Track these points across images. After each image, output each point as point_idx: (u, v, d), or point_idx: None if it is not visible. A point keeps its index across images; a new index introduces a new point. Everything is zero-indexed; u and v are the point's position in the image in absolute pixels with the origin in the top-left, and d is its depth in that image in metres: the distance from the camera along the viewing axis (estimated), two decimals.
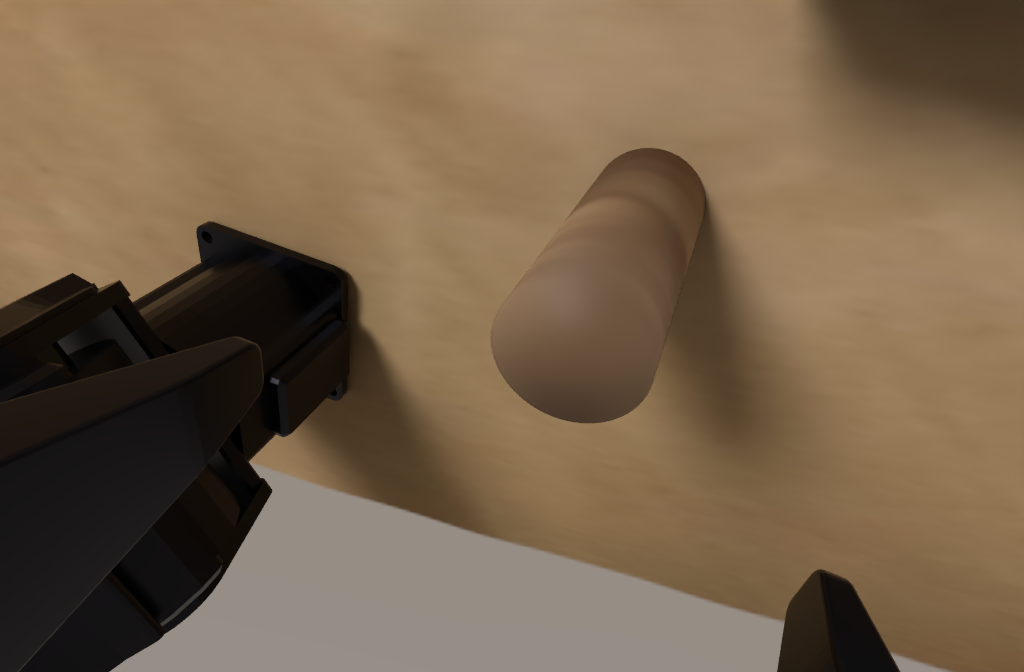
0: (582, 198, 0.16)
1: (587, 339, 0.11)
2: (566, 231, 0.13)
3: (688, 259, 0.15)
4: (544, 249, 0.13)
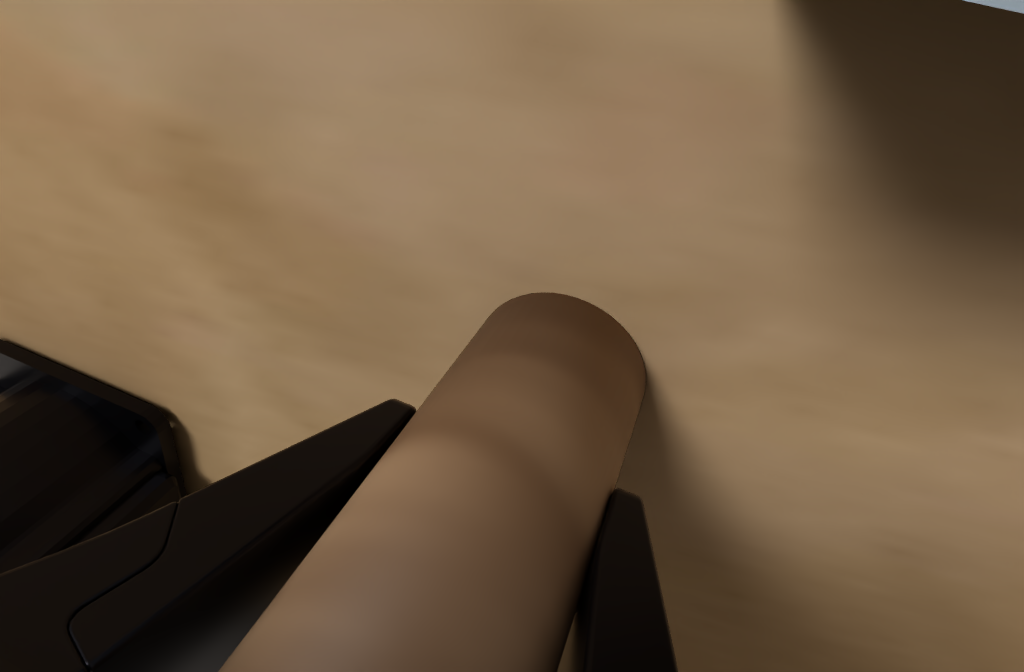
0: (426, 399, 0.09)
1: None
2: (334, 543, 0.07)
3: (595, 536, 0.08)
4: (290, 578, 0.07)
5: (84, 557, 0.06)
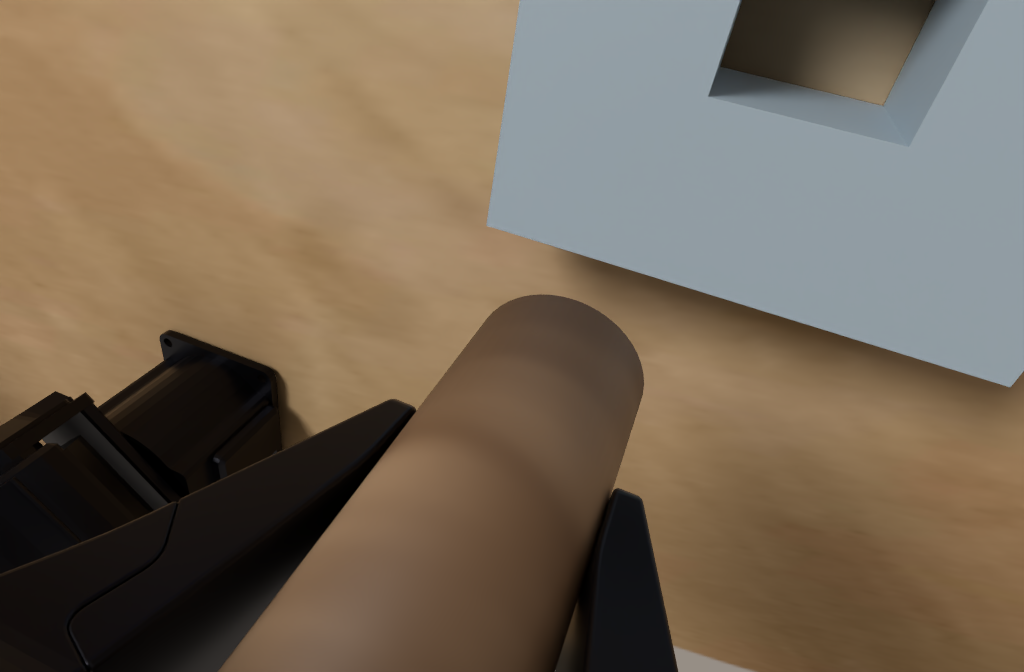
0: (424, 402, 0.09)
1: None
2: (331, 545, 0.07)
3: (593, 538, 0.08)
4: (288, 581, 0.07)
5: (84, 557, 0.06)
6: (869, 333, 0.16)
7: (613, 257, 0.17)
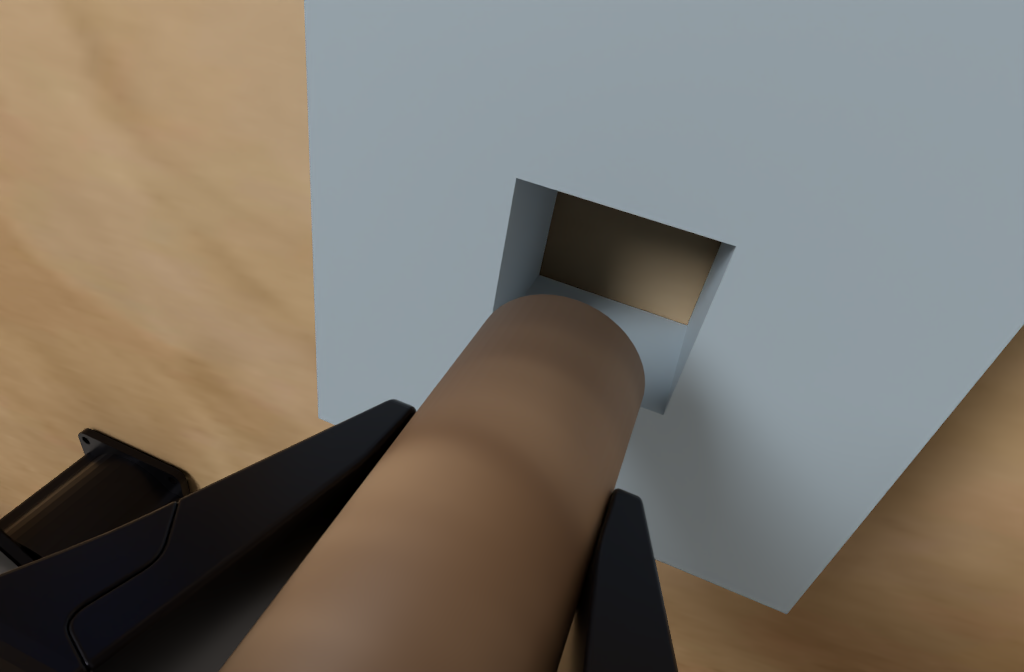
0: (424, 402, 0.09)
1: None
2: (331, 547, 0.07)
3: (594, 539, 0.08)
4: (287, 583, 0.07)
5: (84, 557, 0.06)
6: (659, 553, 0.17)
7: None
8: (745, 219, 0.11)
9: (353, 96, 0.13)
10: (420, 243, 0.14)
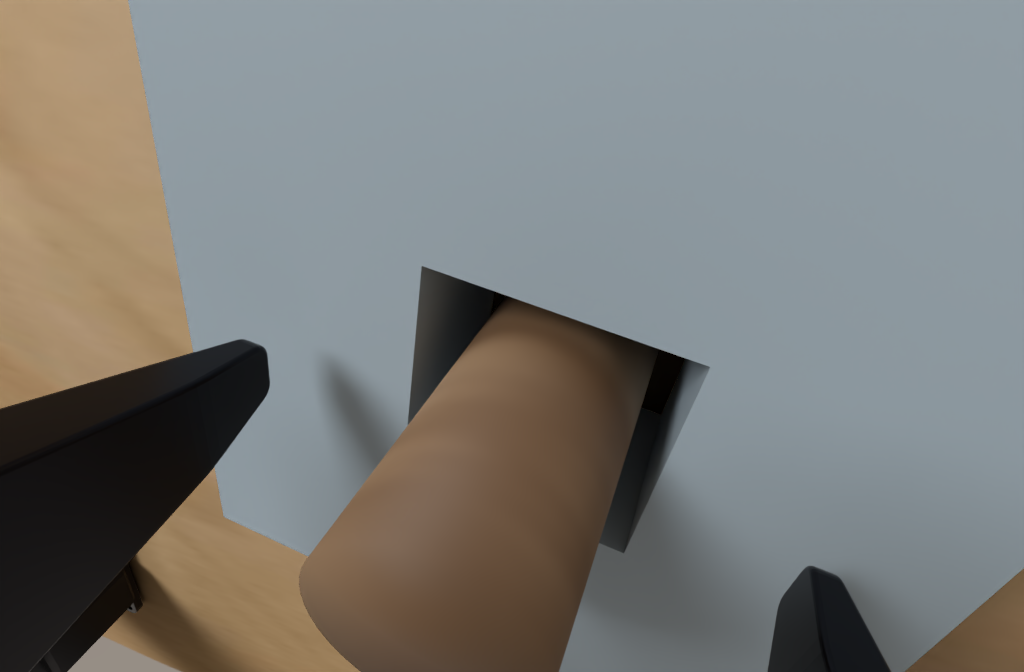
0: (490, 317, 0.11)
1: (440, 628, 0.07)
2: (438, 403, 0.09)
3: (634, 418, 0.10)
4: (404, 431, 0.09)
5: None
6: None
7: None
8: (722, 334, 0.08)
9: (211, 156, 0.10)
10: (314, 337, 0.11)
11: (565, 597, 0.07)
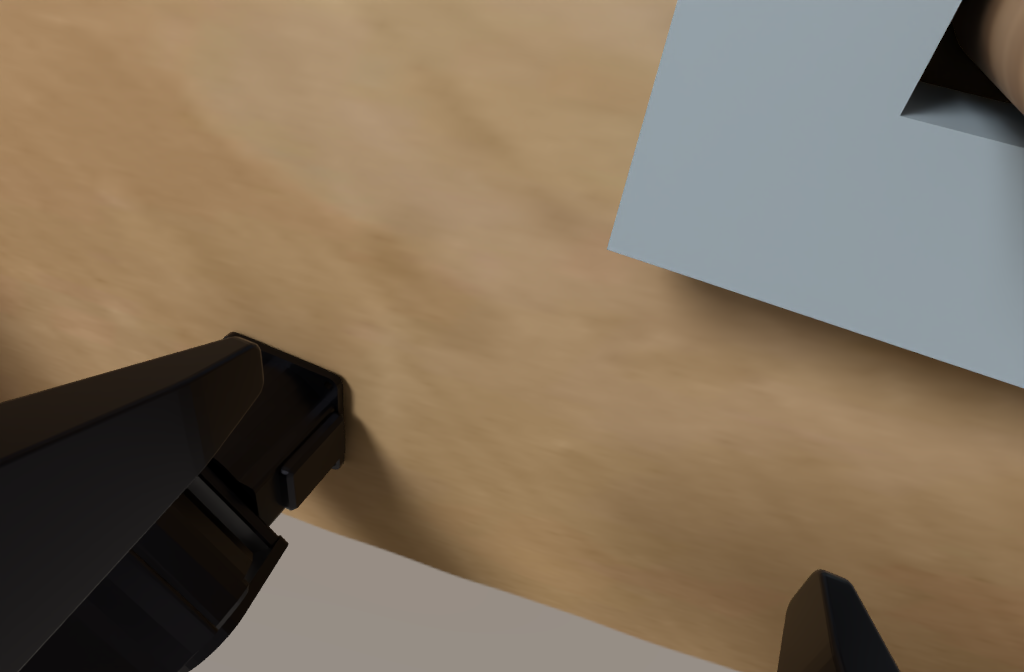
0: None
1: None
2: None
3: None
4: None
5: None
6: None
7: (754, 290, 0.15)
8: None
9: None
10: None
11: None
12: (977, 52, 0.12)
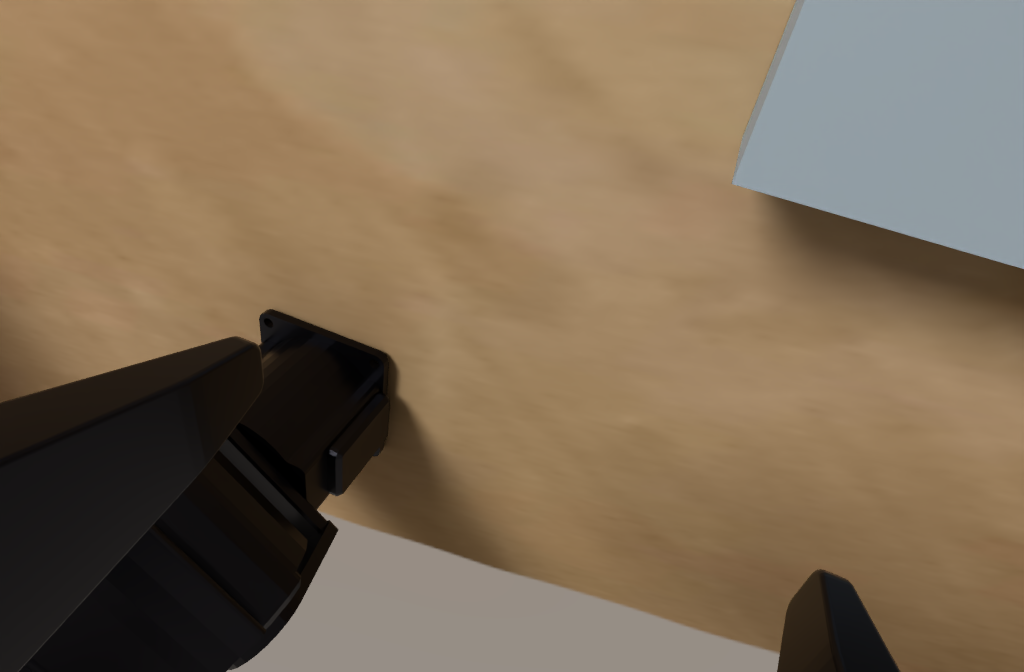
0: None
1: None
2: None
3: None
4: None
5: None
6: None
7: (899, 223, 0.14)
8: None
9: None
10: None
11: None
12: None
